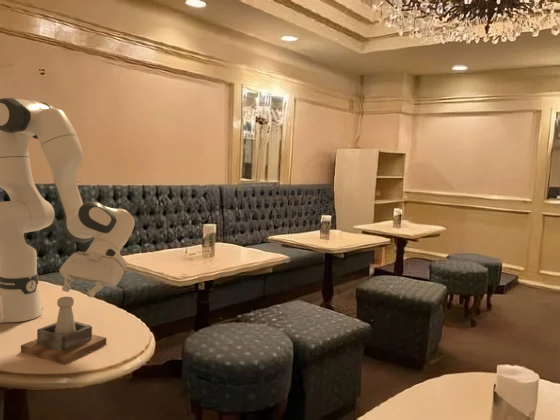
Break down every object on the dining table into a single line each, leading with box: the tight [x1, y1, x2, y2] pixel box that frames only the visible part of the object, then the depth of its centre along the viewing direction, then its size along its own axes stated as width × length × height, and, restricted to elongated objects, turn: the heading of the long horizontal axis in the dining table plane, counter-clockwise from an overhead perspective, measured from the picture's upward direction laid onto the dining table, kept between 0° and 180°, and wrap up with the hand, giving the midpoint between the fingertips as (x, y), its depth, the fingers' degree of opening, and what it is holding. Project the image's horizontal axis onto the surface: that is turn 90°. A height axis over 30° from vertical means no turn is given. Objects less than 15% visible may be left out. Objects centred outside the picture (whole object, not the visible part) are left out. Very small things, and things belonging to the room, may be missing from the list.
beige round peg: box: [55, 296, 76, 336], centre depth 141 cm, size 6×6×13 cm
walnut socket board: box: [20, 320, 107, 365], centre depth 141 cm, size 16×16×6 cm
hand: (76, 293), depth 144 cm, fingers open, 8 cm apart
